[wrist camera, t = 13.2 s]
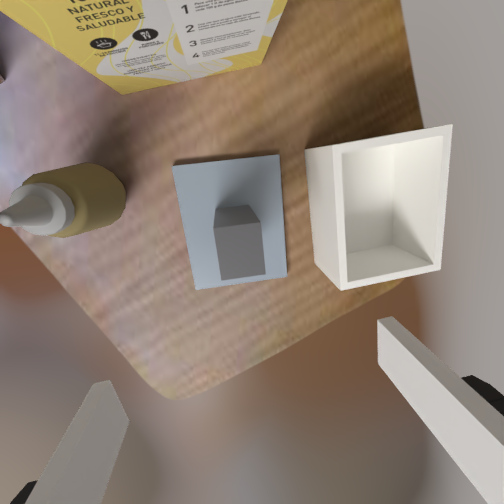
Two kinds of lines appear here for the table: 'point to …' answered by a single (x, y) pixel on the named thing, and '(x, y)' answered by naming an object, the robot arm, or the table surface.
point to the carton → (379, 205)
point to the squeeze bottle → (66, 201)
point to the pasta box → (152, 36)
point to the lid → (233, 220)
